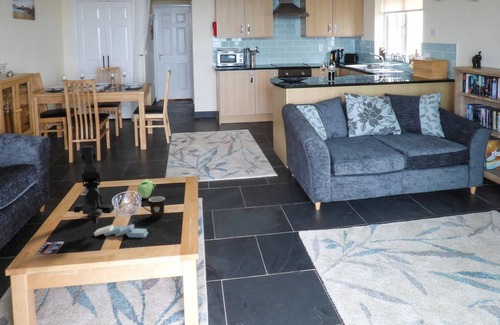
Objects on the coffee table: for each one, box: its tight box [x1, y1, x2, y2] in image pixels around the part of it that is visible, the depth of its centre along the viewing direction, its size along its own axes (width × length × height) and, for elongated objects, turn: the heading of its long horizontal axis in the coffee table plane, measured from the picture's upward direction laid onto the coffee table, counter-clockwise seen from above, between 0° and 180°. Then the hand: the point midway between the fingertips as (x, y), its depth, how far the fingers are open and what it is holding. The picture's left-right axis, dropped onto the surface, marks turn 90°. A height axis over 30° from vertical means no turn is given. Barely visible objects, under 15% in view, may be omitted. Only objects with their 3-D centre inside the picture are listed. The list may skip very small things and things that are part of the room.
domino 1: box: [93, 224, 115, 237], centre depth 226 cm, size 2×5×8 cm
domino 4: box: [126, 228, 148, 237], centre depth 225 cm, size 2×5×8 cm
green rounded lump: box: [136, 178, 156, 199], centre depth 278 cm, size 12×11×11 cm
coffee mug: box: [141, 196, 166, 219], centre depth 249 cm, size 12×9×10 cm
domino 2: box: [103, 224, 125, 237], centre depth 226 cm, size 2×5×8 cm
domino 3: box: [114, 223, 135, 237], centre depth 225 cm, size 2×5×8 cm
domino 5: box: [127, 231, 149, 239], centre depth 225 cm, size 2×5×8 cm
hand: (95, 224), depth 226 cm, fingers closed
